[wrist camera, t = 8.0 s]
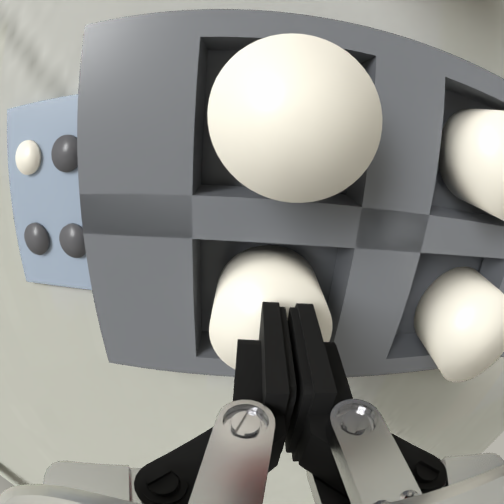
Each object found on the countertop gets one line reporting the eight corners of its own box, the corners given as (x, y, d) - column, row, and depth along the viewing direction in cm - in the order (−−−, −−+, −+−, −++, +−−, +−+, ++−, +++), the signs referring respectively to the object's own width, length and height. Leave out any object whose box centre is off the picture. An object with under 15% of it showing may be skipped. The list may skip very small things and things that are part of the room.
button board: (540, 119, 11) (573, 125, 9) (488, 330, 17) (509, 355, 14) (13, 65, 11) (-23, 62, 8) (38, 313, 16) (15, 341, 14)
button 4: (494, 267, 12) (530, 297, 9) (465, 340, 14) (492, 374, 11) (429, 264, 12) (466, 300, 9) (402, 346, 14) (425, 388, 11)
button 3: (506, 122, 10) (548, 129, 8) (495, 207, 12) (533, 227, 9) (442, 97, 10) (485, 96, 7) (430, 194, 12) (470, 214, 9)
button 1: (352, 67, 9) (386, 50, 6) (341, 187, 11) (371, 209, 8) (223, 53, 9) (213, 28, 6) (216, 178, 11) (204, 197, 8)
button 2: (324, 248, 13) (343, 282, 10) (309, 333, 15) (320, 377, 12) (217, 242, 13) (208, 276, 10) (216, 330, 14) (209, 374, 12)
